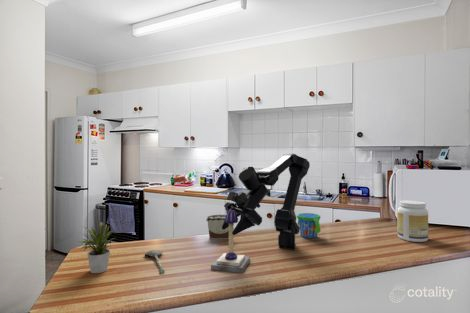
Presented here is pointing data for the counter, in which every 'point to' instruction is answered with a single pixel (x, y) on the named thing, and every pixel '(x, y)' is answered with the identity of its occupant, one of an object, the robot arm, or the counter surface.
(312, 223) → the snack cup
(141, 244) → the counter surface
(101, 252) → the house plant
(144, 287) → the counter surface
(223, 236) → the food container
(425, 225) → the supplement tub
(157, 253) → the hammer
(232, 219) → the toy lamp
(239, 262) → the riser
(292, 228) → the robot arm
